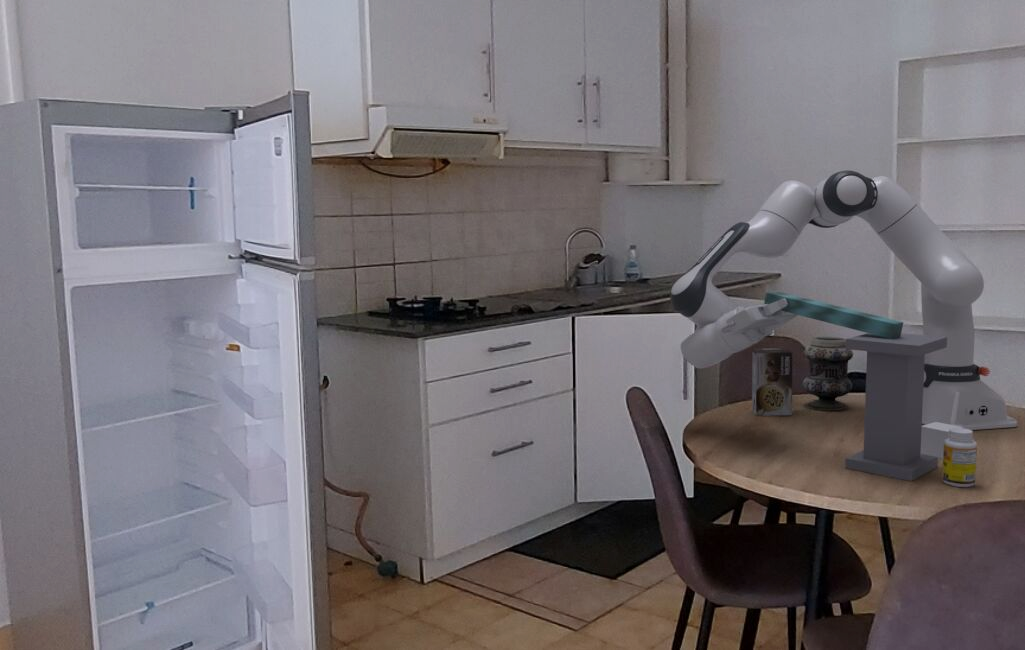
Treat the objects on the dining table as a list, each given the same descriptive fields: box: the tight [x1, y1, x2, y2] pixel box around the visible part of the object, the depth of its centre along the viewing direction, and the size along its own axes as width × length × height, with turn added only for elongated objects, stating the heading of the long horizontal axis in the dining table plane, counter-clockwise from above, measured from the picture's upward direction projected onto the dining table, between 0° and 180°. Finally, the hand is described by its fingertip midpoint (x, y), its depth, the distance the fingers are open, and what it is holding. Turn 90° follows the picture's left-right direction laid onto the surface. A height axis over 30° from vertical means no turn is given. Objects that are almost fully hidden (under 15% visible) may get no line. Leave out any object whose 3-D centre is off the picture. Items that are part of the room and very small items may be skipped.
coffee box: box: [751, 347, 794, 417], centre depth 230 cm, size 9×6×16 cm
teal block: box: [764, 290, 904, 339], centre depth 188 cm, size 28×4×3 cm, turn 45°
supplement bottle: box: [942, 428, 978, 488], centre depth 171 cm, size 6×6×10 cm
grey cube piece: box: [920, 422, 964, 460], centre depth 191 cm, size 6×6×6 cm
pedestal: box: [844, 332, 947, 482], centre depth 181 cm, size 14×14×26 cm
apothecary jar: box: [802, 335, 854, 412], centre depth 236 cm, size 12×12×18 cm
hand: (793, 300), depth 194 cm, fingers closed on teal block, 4 cm apart
